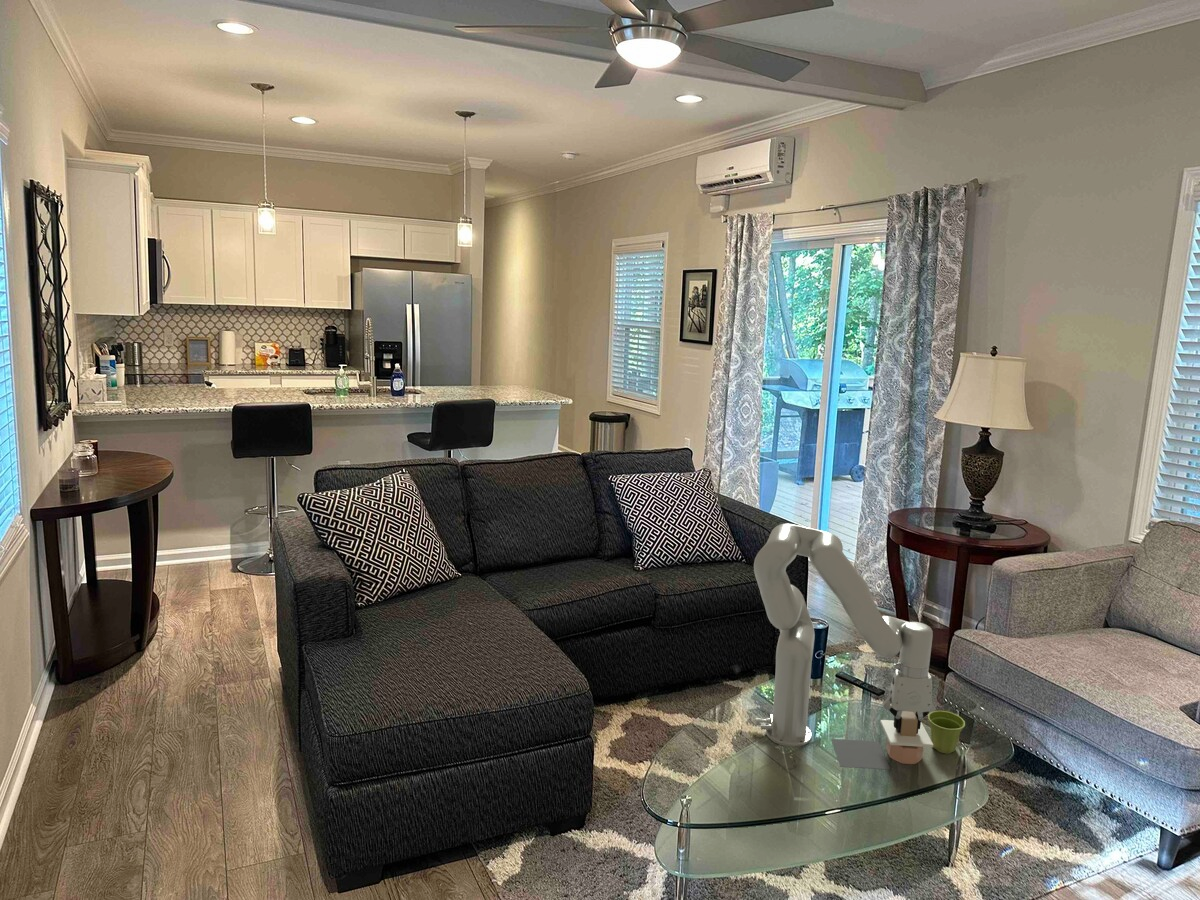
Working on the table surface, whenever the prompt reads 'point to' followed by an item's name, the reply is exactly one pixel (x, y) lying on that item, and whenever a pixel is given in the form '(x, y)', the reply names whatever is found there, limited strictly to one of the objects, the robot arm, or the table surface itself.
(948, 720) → the plant pot
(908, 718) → the lid
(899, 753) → the bowl
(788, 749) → the table surface
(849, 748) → the mat
